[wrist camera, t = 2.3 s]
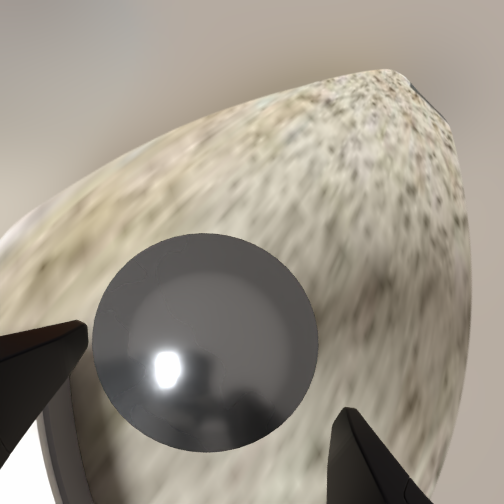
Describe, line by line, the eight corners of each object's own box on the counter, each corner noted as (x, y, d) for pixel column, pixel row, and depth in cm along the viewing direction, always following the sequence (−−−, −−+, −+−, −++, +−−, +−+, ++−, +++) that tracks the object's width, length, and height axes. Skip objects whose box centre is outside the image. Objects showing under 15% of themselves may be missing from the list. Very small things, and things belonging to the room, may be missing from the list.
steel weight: (264, 406, 16) (341, 423, 5) (189, 418, 15) (107, 457, 4) (249, 336, 18) (287, 221, 7) (177, 347, 17) (93, 248, 6)
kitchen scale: (118, 566, 9) (100, 588, 5) (-2, 529, 7) (-27, 537, 3) (67, 359, 16) (37, 348, 12) (-36, 356, 14) (-65, 345, 10)
